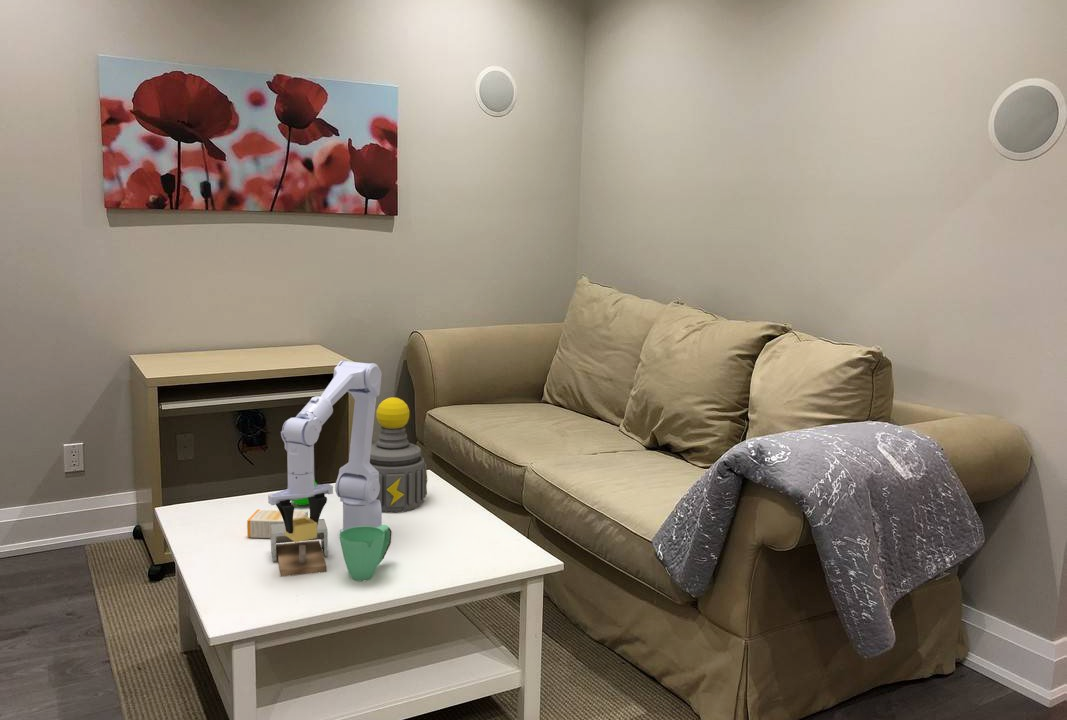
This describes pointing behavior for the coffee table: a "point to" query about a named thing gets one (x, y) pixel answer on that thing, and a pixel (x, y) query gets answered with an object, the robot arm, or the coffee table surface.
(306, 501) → the ornament
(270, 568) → the coffee table surface
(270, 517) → the supplement box
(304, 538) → the hollow square block
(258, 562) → the coffee table surface
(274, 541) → the cover
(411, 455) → the decorative lamp
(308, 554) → the pin board
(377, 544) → the mug
